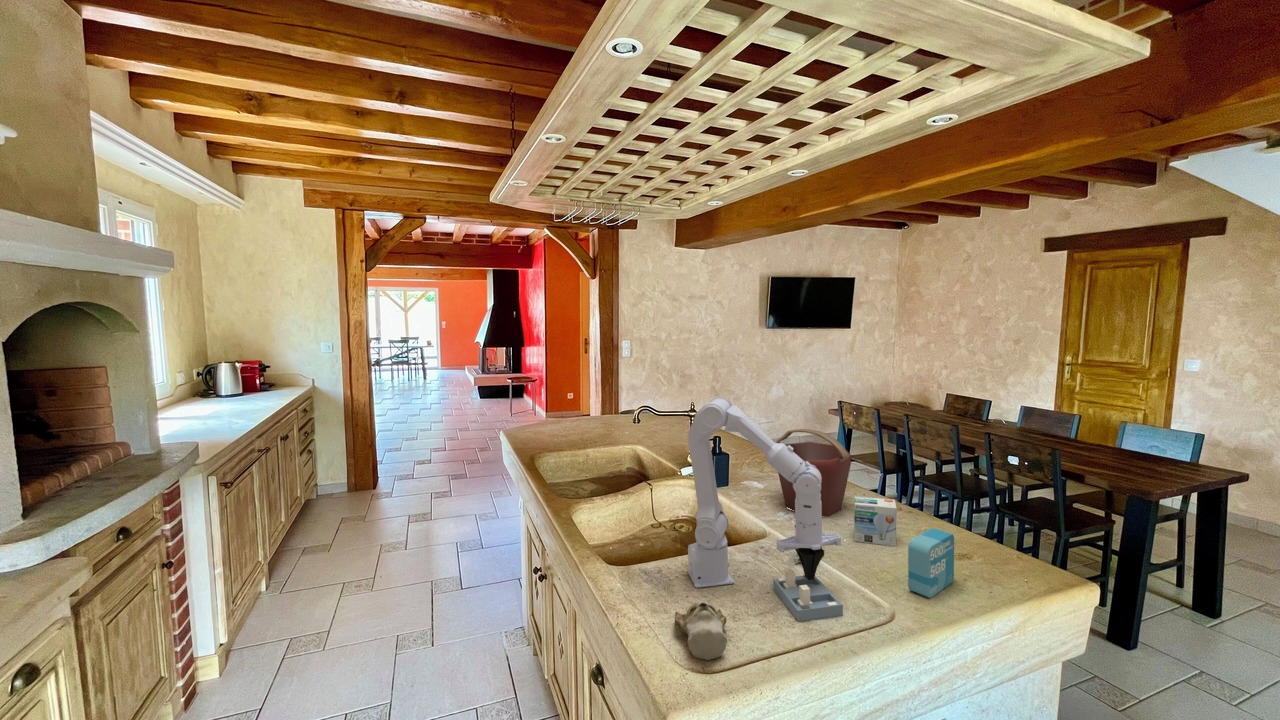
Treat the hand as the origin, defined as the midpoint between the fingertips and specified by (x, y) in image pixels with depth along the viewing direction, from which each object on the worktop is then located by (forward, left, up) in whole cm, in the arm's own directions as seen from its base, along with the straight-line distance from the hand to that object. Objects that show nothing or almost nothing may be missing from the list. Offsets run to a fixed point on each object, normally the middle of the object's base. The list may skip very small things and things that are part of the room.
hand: (809, 577), depth 118 cm
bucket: (+24, +47, -4) cm, 53 cm away
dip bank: (-3, -3, -3) cm, 5 cm away
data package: (+27, -4, -4) cm, 28 cm away
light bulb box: (+29, +21, -4) cm, 36 cm away
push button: (+5, +14, -4) cm, 15 cm away
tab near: (-5, -7, -2) cm, 9 cm away
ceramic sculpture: (-28, -12, -4) cm, 31 cm away
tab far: (-5, 0, -2) cm, 5 cm away
